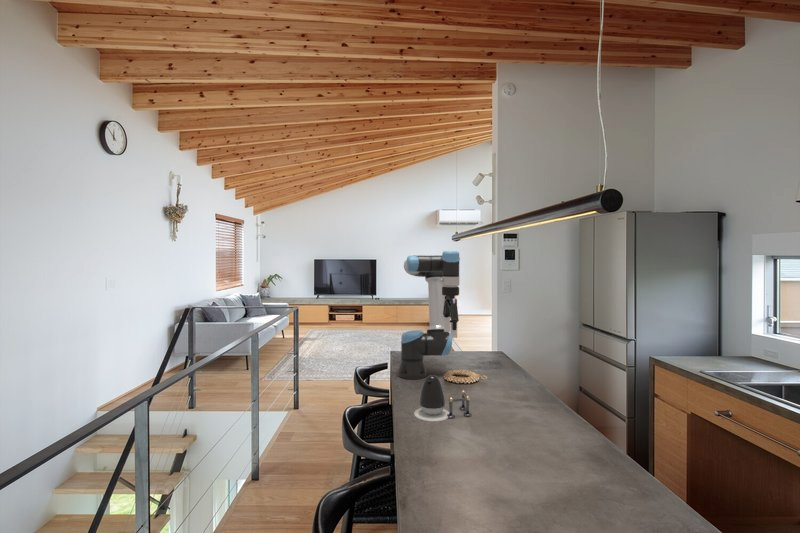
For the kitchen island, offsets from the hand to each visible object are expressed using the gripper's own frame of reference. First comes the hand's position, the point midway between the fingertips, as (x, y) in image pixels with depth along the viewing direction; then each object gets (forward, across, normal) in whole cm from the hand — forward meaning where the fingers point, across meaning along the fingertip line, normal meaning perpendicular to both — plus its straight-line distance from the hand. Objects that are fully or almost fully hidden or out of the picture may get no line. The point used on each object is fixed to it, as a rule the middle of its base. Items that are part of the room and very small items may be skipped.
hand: (450, 334), depth 186 cm
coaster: (+29, +17, -11) cm, 35 cm away
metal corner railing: (+29, +16, 0) cm, 33 cm away
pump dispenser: (+28, +17, -11) cm, 35 cm away
